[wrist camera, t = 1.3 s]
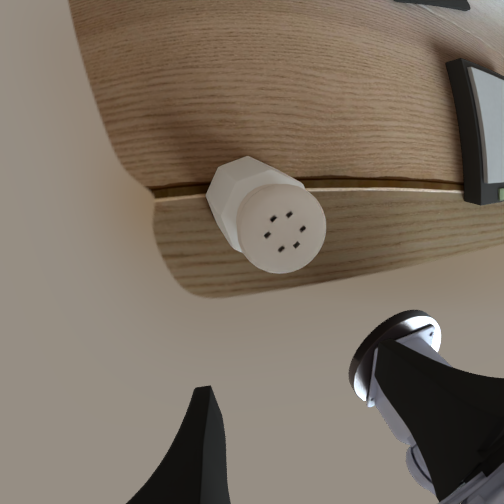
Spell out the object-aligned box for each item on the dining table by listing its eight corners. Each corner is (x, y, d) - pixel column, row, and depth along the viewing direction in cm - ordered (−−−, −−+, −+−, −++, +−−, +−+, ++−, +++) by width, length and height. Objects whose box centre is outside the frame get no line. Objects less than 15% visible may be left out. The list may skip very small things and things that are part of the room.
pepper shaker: (300, 197, 19) (392, 235, 9) (244, 250, 20) (276, 341, 9) (248, 139, 18) (291, 102, 7) (188, 195, 18) (153, 231, 8)
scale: (514, 193, 22) (531, 197, 19) (464, 201, 21) (485, 206, 18) (501, 83, 18) (518, 81, 15) (445, 62, 17) (465, 56, 14)
